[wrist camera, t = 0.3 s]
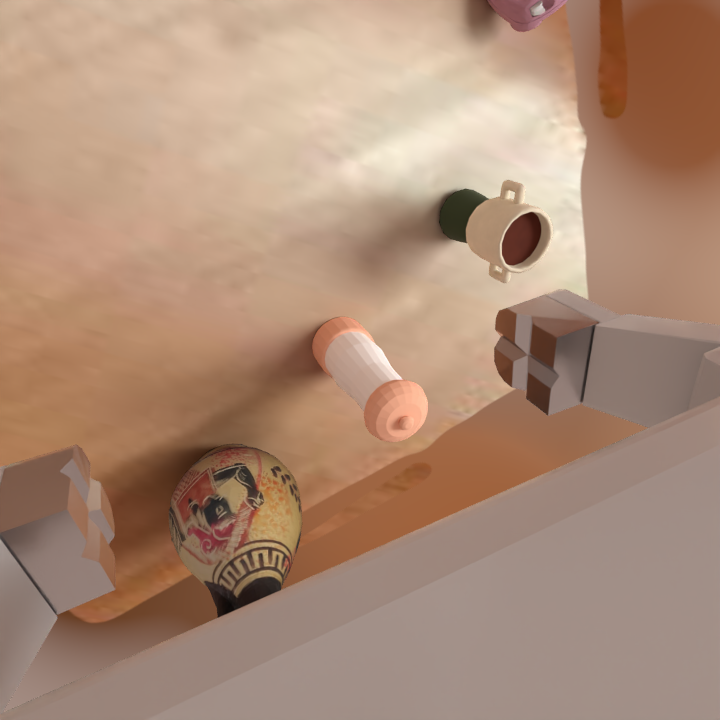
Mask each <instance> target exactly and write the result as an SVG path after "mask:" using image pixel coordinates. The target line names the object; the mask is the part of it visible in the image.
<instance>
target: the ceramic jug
mask: <svg viewBox="0 0 720 720" xmlns="http://www.w3.org/2000/svg"><path fill="white" fill-rule="evenodd" d="M170 505H171V507H170V509H169V527H170V533H171V536H172V541H173V543H174V546H175V548H176V550H177V552H178V554H179V557H180V558H181V560H182V561H183V563H184V565H185V566H186V567H187V568H188V569H189V570H190V572H191V573H192V574H193V575H195V576H196V577H197V578H198V579H199V580H200V581H201V582H202V583H203V584H204V585H206V586H207V587H208V589H209V590H210V592H211V595H212V597H213V600H214V602H215V605H216V607H217V613H218V618H219V617H221V616H223V615H226V614H228V613H230V612H232V611H235V610H237V609H239V608H241V607H244V606H246V605H248V604H250V603H253V602H255V601H257V600H260V599H262V598H264V597H266V596H269V595H271V594H273V593H275V592H278V591H280V590H281V587H282V585H283V583H284V581H285V580H286V578H287V576H288V573H289V571H290V568H291V566H292V563H293V560H294V557H295V554H296V551H297V548H298V545H299V541H300V535H301V528H302V510H301V501H300V494H299V490H298V487H297V484H296V481H295V479H294V477H293V475H292V474H291V473H290V471H289V470H288V469H287V468H286V467H285V466H284V465H283V464H282V463H281V462H280V461H279V460H278V459H277V458H276V457H274V456H272V455H270V454H269V453H267V452H264V451H262V450H259V449H257V448H252V447H247V446H244V445H242V444H228V445H223V446H219V447H217V448H215V449H213V450H211V451H209V452H207V453H206V454H205V455H204V456H203V457H202V458H200V459H199V460H198V461H197V462H196V463H194V465H193V466H192V467H191V468H190V469H189V470H188V471H187V472H186V473H185V474H184V476H183V477H182V479H181V480H180V482H179V483H178V485H177V486H176V488H175V490H174V492H173V494H172V498H171V502H170Z"/></svg>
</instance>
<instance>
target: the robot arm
mask: <svg viewBox="0 0 720 720" xmlns="http://www.w3.org/2000/svg"><path fill="white" fill-rule="evenodd" d="M495 330H496V331H497V332H498V333H499V335H500V336H501V337H500V339H499V341H498V343H497V344H496V346H495V348H494V362H495V364H496V367H497V370H498V373H499V375H500V376H501V377H502V379H503V380H504V381H505V382H506V383H507V384H508V385H510V386H511V387H512V388H516V389H521V390H524V391H525V394H526V399H527V400H529V401H530V402H531V403H532V404H534V405H535V406H536V407H538V408H539V409H540V410H541V411H543V412H544V413H545V414H547V415H551V414H554V413H557V412H559V411H562V410H565V409H567V408H570V407H573V406H576V405H578V404H581V403H583V405H584V406H587V407H590V408H593V409H596V410H599V411H602V412H605V413H608V414H611V415H613V416H616V417H619V418H622V419H625V420H628V421H631V422H634V423H637V424H640V425H642V426H645V427H648V429H646V430H643V431H641V432H639V433H636V434H634V435H632V436H630V437H627V438H625V439H623V440H621V441H618V442H616V443H613V444H611V445H609V446H607V447H604V448H602V449H600V450H597V451H595V452H593V453H591V454H588V455H586V456H584V457H581V458H579V459H577V460H575V461H573V462H570V463H568V464H565V465H563V466H561V467H559V468H557V469H554V470H552V471H550V472H547V473H545V474H543V475H540V476H538V477H536V478H534V479H531V480H529V481H527V482H524V483H522V484H520V485H518V486H516V487H513V488H511V489H508V490H506V491H504V492H502V493H499V494H497V495H495V496H493V497H490V498H488V499H486V500H484V501H481V502H479V503H477V504H475V505H472V506H470V507H468V508H466V509H463V510H461V511H459V512H457V513H455V514H452V515H450V516H447V517H445V518H443V519H441V520H438V521H436V522H434V523H432V524H429V525H427V526H425V527H423V528H420V529H418V530H416V531H414V532H412V533H409V534H407V535H404V536H402V537H400V538H398V539H395V540H393V541H391V542H389V543H386V544H384V545H382V546H380V547H378V548H375V549H373V550H371V551H368V552H367V553H364V554H362V555H359V556H357V557H355V558H352V559H350V560H348V561H346V562H343V563H341V564H339V565H337V566H334V567H332V568H330V569H328V570H325V571H323V572H321V573H318V574H316V575H314V576H312V577H309V578H307V579H305V580H303V581H300V582H298V583H296V584H294V585H291V586H289V587H287V588H284V589H282V590H280V591H278V592H275V593H273V594H271V595H269V596H266V597H264V598H262V599H260V600H257V601H255V602H253V603H250V604H248V605H246V606H244V607H241V608H239V609H237V610H235V611H232V612H230V613H228V614H226V615H223V616H221V617H219V618H217V619H214V620H212V621H210V622H207V623H205V624H203V625H201V626H198V627H196V628H194V629H192V630H189V631H187V632H185V633H182V634H180V635H178V636H176V637H173V638H171V639H169V640H167V641H164V642H162V643H160V644H158V645H156V646H153V647H151V648H149V649H146V650H144V651H142V652H139V653H137V654H135V655H133V656H130V657H128V658H126V659H124V660H121V661H119V662H117V663H114V664H112V665H110V666H108V667H105V668H103V669H101V670H99V671H96V672H94V673H92V674H90V675H87V676H85V677H83V678H80V679H78V680H76V681H74V682H71V683H69V684H67V685H65V686H63V687H60V688H58V689H56V690H53V691H51V692H49V693H46V694H44V695H42V696H40V697H37V698H35V699H33V700H31V701H28V702H26V703H24V704H22V705H20V706H17V707H15V708H12V709H10V710H8V711H6V712H3V711H4V710H5V708H6V706H7V704H8V703H9V701H10V699H11V698H12V696H13V694H14V692H15V691H16V689H17V687H18V685H19V684H20V682H21V680H22V679H23V677H24V675H25V673H26V671H27V670H28V668H29V666H30V665H31V663H32V661H33V659H34V657H35V656H36V654H37V653H38V651H39V649H40V647H41V646H42V644H43V642H44V640H45V639H46V637H47V635H48V634H49V632H50V630H51V628H52V627H53V625H54V623H55V621H56V620H57V618H58V617H57V616H56V615H57V614H59V613H62V612H64V611H67V610H69V609H71V608H74V607H76V606H78V605H81V604H83V603H85V602H88V601H90V600H92V599H95V598H97V597H99V596H102V595H104V594H106V593H109V592H111V591H113V590H115V555H114V553H113V552H112V550H111V548H110V546H109V543H110V542H111V540H112V539H113V538H114V536H115V527H114V519H113V514H112V509H111V505H110V502H109V500H108V497H107V494H106V492H105V490H104V488H103V486H102V484H101V483H100V482H98V481H95V480H93V479H91V478H90V462H89V460H88V458H87V456H86V455H85V453H84V451H83V449H82V448H81V447H79V446H78V445H73V446H70V447H66V448H63V449H60V450H56V451H53V452H50V453H46V454H43V455H39V456H36V457H33V458H29V459H26V460H23V461H19V462H16V463H13V464H10V465H9V466H2V467H0V720H720V325H715V324H706V323H698V322H690V321H682V320H673V319H665V318H657V317H649V316H640V315H632V314H625V315H622V316H621V315H618V314H616V313H614V312H612V311H610V310H608V309H606V308H604V307H602V306H600V305H597V304H595V303H593V302H591V301H589V300H587V299H585V298H583V297H581V296H579V295H576V294H574V293H572V292H570V291H568V290H556V291H553V292H550V293H548V294H545V295H542V296H539V297H537V298H535V299H532V300H529V301H526V302H523V303H520V304H517V305H514V306H511V307H508V308H506V309H503V310H500V311H499V312H498V315H497V317H496V325H495Z"/></svg>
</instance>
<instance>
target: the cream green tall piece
mask: <svg viewBox="0 0 720 720" xmlns="http://www.w3.org/2000/svg"><path fill="white" fill-rule="evenodd" d="M510 191H514V192H515V197H514V200H513V199H510V198H509V197H510ZM524 196H525V186H524V185H522V184H521V183H517V182H513V181H510V180H506V181H504V182H503V184H502V188H501V195H500V197H496V198H493V199H488V198H486V197H485V196H483V195H481V194H480V193H478V192H476V191H474V190H469V189H463V190H460V191H457V192H455V193H454V194H453V195H452V196H450V197H449V198H448V199H447V200H446V202H445V203H444V205H443V207H442V209H441V211H440V221H439V223H440V225H441V228H442V231H443V233H444V234H446V235H447V236H448V237H449V238H450V239H453V240H456V241H460V242H464V243H468V245H469V247H470V249H471V250H472V251H473V252H474V253H475V254H476V255H478V256H479V257H481V258H482V259H484V260H486V261H488V262H490V267H489V275H490V276H491V277H493V278H495V279H497V280H499V281H500V282H503V283H507V282H509V280H510V277H511V272H513V273H522V272H524V271H527V270H530V269H531V268H532V267H534V266H535V265H536V264H537V263H539V262H540V261H541V259H542V258H543V257H544V255H545V254H546V253H547V251H548V249H549V246H550V244H551V241H552V237H553V225H552V222H551V220H550V217H549V215H547V214H546V213H545V212H544V211H543V210H542V209H540V208H538V207H535V206H531V205H528V204H526V203H523V202H524ZM498 267H500V268H502V269H503V270H502V273H501V272H500V271H498Z"/></svg>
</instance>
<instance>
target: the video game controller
mask: <svg viewBox="0 0 720 720" xmlns="http://www.w3.org/2000/svg"><path fill="white" fill-rule="evenodd" d="M487 1H488V3H489V4H490V6H491V7H492V8H493V9H494V10H495V11H496V12H497V13H498V14H499V15H500V16H501V17H502V18H504V19H505V20H506V21H508V22H509V23H510V24H511V26H512V28H513V29H514V30H516V31H519V32H525V31H529V30H531V29H534V28H536V27H537V26H538V25H539V24H540V23H541V22H542V21H543V20H544V19H545V18H547V17H548V16H550V15H551V14H553V13H554V12H555V11H557V10H558V9H559V8H560V7H561V6H563V5H564V4H565V3H566V2H567V1H568V0H487Z"/></svg>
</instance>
